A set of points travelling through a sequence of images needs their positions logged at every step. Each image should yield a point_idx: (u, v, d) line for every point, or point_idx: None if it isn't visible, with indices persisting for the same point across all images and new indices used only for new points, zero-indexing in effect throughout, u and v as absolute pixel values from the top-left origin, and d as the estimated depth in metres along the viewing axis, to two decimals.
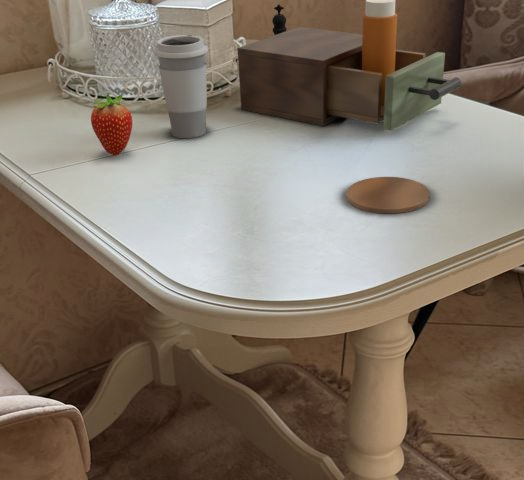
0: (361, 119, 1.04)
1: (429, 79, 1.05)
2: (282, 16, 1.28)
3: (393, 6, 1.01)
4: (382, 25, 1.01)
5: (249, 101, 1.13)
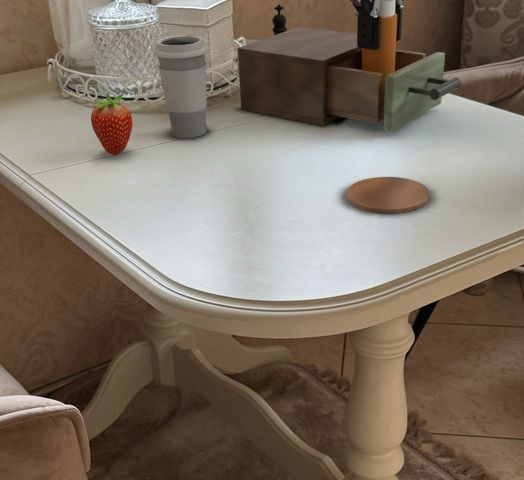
0: (361, 119, 1.04)
1: (429, 79, 1.05)
2: (282, 16, 1.28)
3: (393, 6, 1.01)
4: (382, 25, 1.01)
5: (249, 101, 1.13)
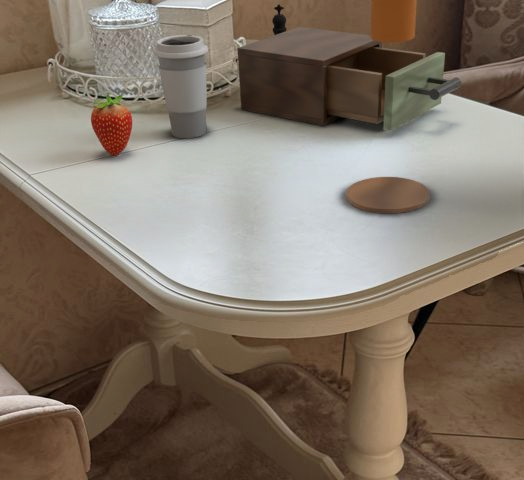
0: (361, 119, 1.04)
1: (429, 79, 1.05)
2: (282, 16, 1.28)
3: None
4: None
5: (249, 101, 1.13)
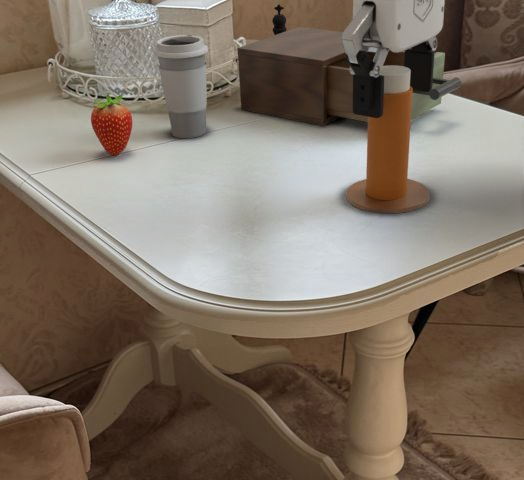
0: (361, 119, 1.04)
1: None
2: (282, 16, 1.28)
3: (408, 79, 0.79)
4: (393, 103, 0.79)
5: (249, 101, 1.13)
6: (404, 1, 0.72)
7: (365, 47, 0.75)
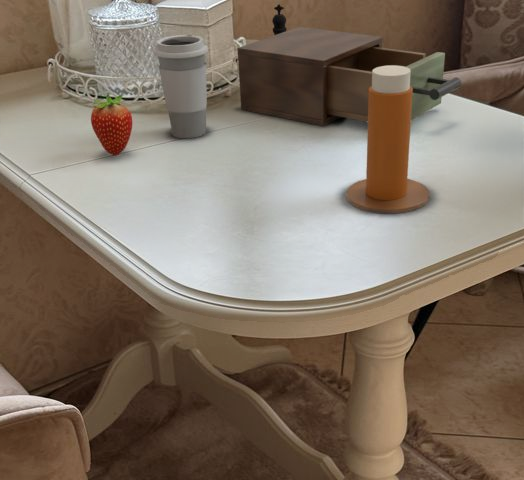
0: (361, 119, 1.04)
1: (429, 79, 1.05)
2: (282, 16, 1.28)
3: (408, 79, 0.79)
4: (393, 103, 0.79)
5: (249, 101, 1.13)
6: None
7: None
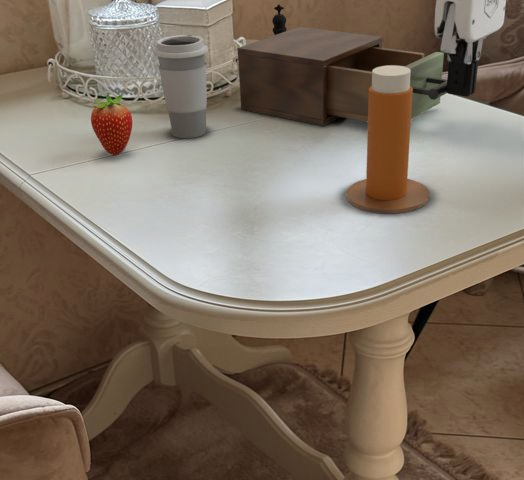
0: (360, 119, 1.04)
1: (428, 78, 1.05)
2: (282, 16, 1.28)
3: (408, 79, 0.79)
4: (393, 103, 0.79)
5: (249, 101, 1.13)
6: (478, 2, 0.90)
7: None
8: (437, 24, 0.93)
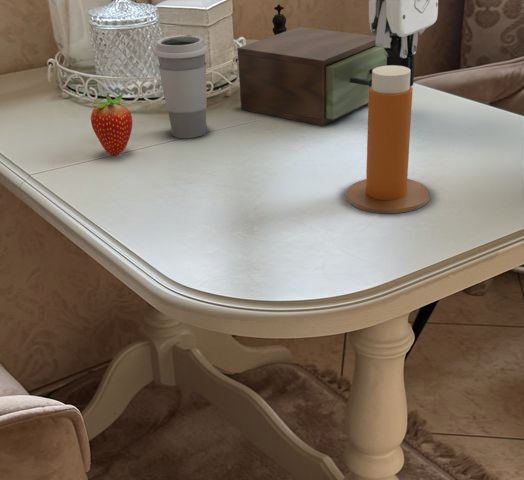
0: None
1: (371, 70, 1.09)
2: (282, 16, 1.28)
3: (408, 79, 0.79)
4: (393, 103, 0.79)
5: (249, 101, 1.13)
6: None
7: (389, 37, 1.01)
8: (371, 20, 0.98)
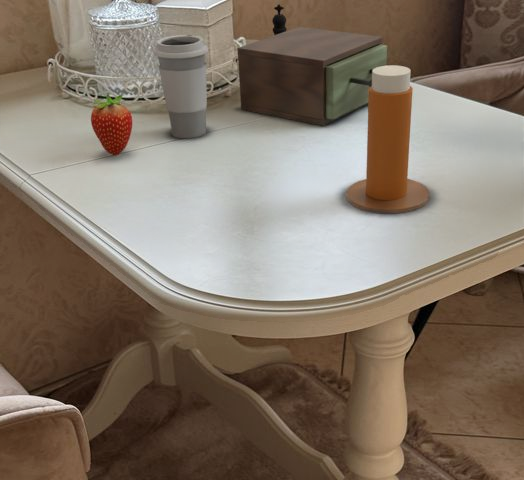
0: None
1: (371, 70, 1.09)
2: (282, 16, 1.28)
3: (408, 79, 0.79)
4: (393, 103, 0.79)
5: (249, 101, 1.13)
6: None
7: None
8: None
